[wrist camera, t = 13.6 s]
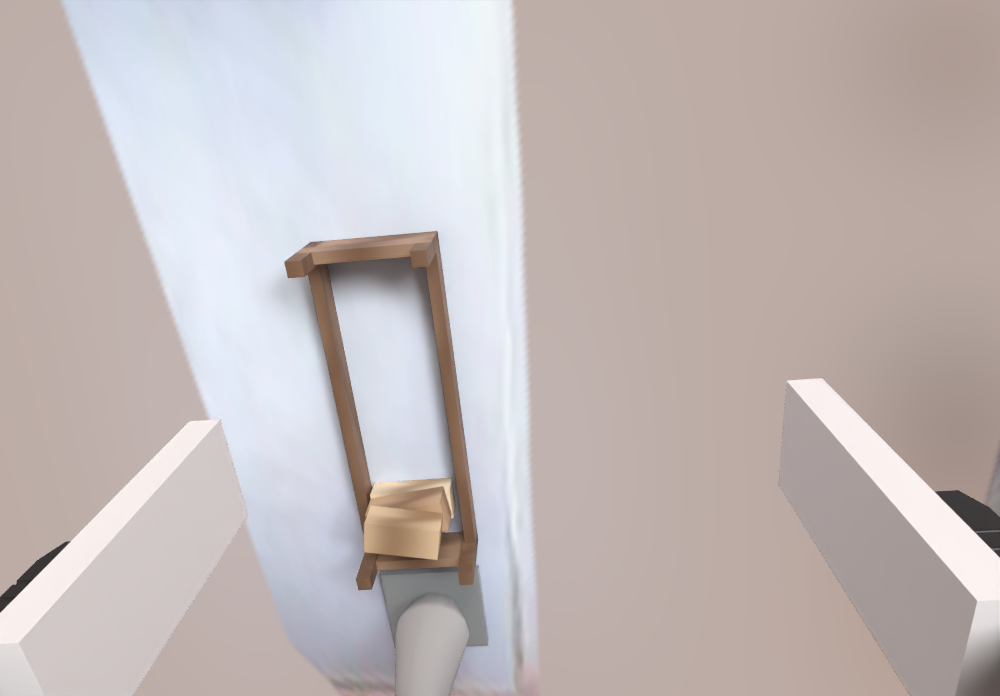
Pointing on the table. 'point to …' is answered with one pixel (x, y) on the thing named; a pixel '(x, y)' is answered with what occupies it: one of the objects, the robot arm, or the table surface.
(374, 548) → the offcut
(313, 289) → the open rectangular wooden frame
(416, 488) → the offcut
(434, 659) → the salt shaker
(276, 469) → the table surface
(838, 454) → the robot arm
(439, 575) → the coaster
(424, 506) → the offcut
